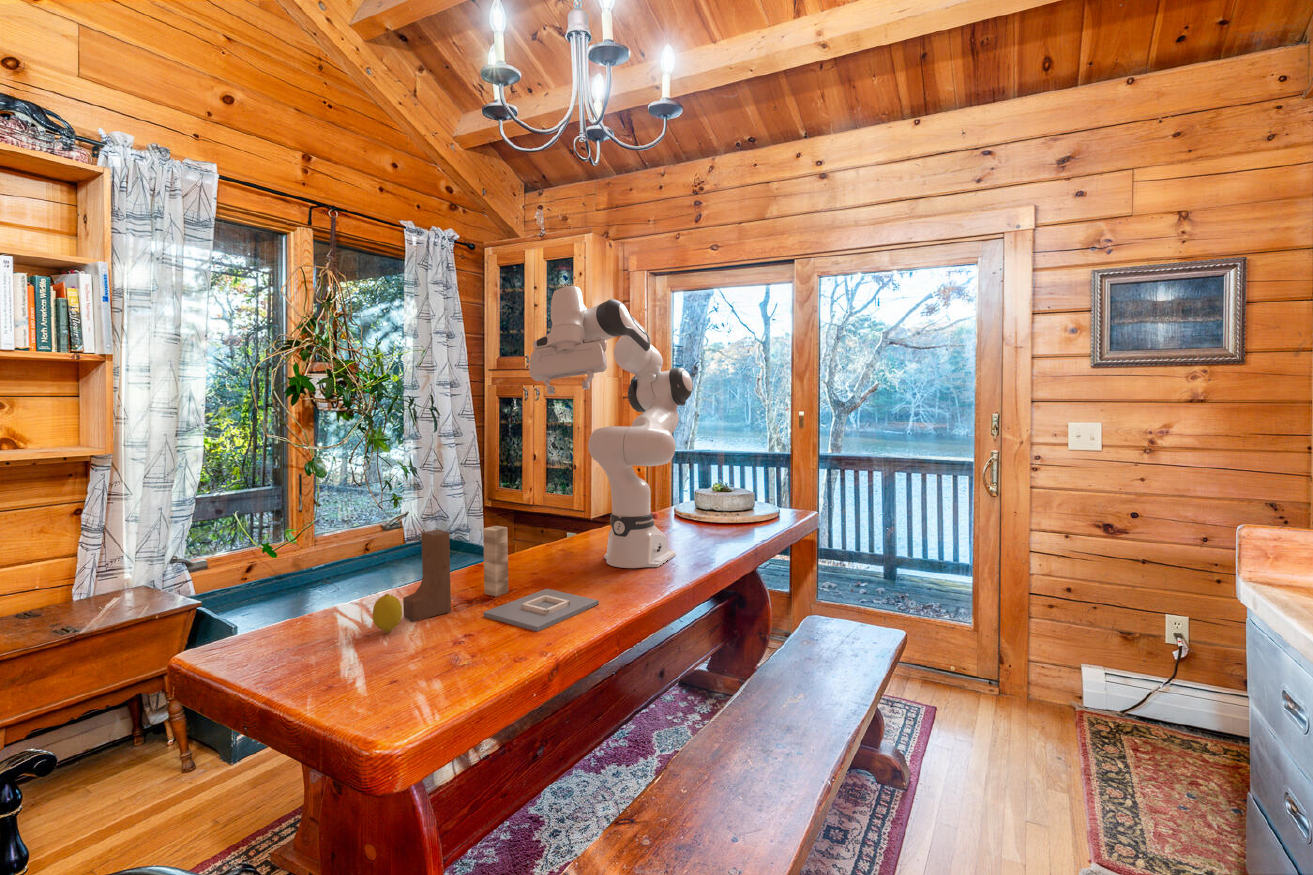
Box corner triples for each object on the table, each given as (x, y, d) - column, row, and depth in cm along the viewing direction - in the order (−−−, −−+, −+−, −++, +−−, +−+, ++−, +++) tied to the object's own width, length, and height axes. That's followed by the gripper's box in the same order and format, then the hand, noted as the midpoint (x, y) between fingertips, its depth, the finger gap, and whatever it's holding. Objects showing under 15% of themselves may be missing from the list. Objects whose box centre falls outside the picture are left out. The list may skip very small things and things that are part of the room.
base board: (546, 592, 155) (546, 584, 155) (598, 604, 147) (598, 596, 147) (483, 616, 139) (483, 607, 139) (537, 631, 130) (537, 622, 130)
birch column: (496, 589, 158) (495, 525, 157) (508, 592, 156) (507, 527, 155) (484, 593, 155) (483, 528, 153) (496, 596, 152) (494, 530, 151)
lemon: (373, 629, 131) (372, 591, 130) (402, 625, 133) (401, 588, 133) (372, 639, 126) (371, 599, 125) (403, 635, 128) (402, 596, 128)
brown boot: (412, 622, 135) (410, 538, 134) (402, 617, 138) (400, 535, 137) (451, 612, 142) (450, 532, 140) (441, 607, 145) (439, 529, 143)
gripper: (609, 342, 168) (611, 390, 164) (536, 353, 172) (536, 400, 167) (602, 330, 162) (604, 380, 158) (526, 342, 166) (526, 391, 161)
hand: (568, 391), depth 163 cm, fingers open, 8 cm apart
